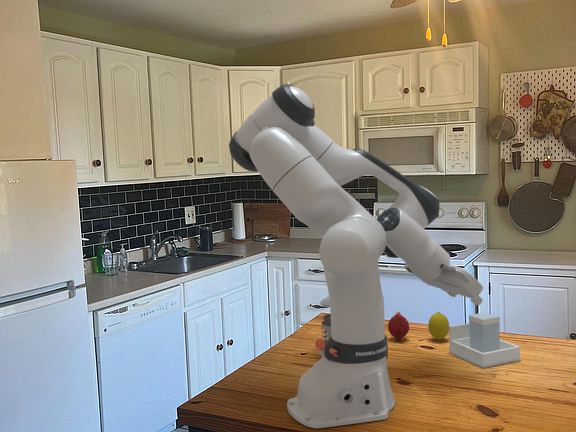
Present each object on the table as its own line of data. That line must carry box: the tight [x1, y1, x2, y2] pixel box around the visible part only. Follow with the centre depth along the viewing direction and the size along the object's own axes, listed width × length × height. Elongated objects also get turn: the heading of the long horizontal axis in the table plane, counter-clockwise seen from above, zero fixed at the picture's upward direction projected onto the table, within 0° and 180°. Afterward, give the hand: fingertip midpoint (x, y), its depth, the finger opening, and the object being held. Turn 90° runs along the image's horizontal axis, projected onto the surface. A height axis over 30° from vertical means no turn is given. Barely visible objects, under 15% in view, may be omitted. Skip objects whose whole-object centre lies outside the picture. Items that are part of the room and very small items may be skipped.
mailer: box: [448, 322, 521, 370], centre depth 147 cm, size 11×13×7 cm
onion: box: [387, 310, 410, 341], centre depth 164 cm, size 6×6×8 cm
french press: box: [318, 296, 331, 358], centre depth 154 cm, size 10×12×25 cm
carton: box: [468, 312, 501, 353], centre depth 147 cm, size 5×5×10 cm
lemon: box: [427, 311, 450, 341], centre depth 162 cm, size 6×6×8 cm
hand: (466, 298), depth 142 cm, fingers open, 8 cm apart
